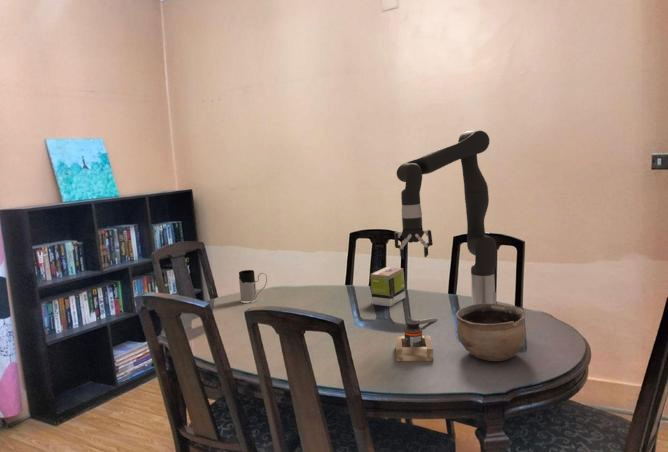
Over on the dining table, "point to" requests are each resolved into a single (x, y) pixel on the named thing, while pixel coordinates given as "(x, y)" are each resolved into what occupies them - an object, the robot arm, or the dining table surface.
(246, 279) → the glass holder
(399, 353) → the square sleeve
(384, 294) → the tea box
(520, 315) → the ceramic bowl
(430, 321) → the caliper
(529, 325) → the dining table surface
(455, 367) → the dining table surface
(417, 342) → the supplement bottle
